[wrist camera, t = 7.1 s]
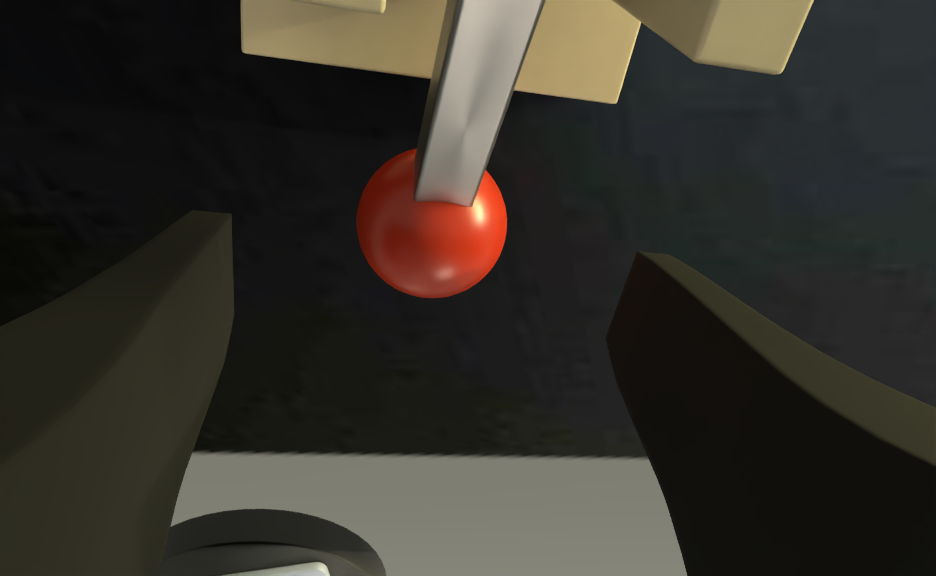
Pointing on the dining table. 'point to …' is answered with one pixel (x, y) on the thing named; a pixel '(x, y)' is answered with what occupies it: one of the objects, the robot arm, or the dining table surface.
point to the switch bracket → (553, 43)
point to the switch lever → (450, 158)
